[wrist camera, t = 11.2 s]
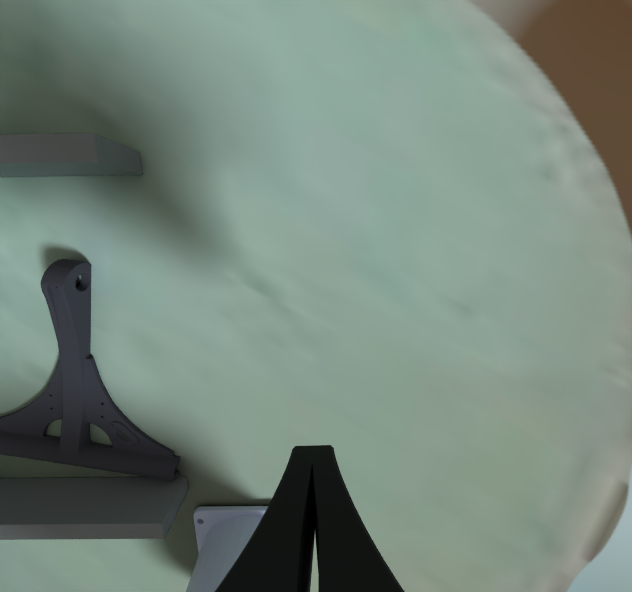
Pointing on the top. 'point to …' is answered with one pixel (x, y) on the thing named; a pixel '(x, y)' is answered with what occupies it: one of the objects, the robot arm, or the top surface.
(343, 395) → the top surface
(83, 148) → the box
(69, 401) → the bracket
